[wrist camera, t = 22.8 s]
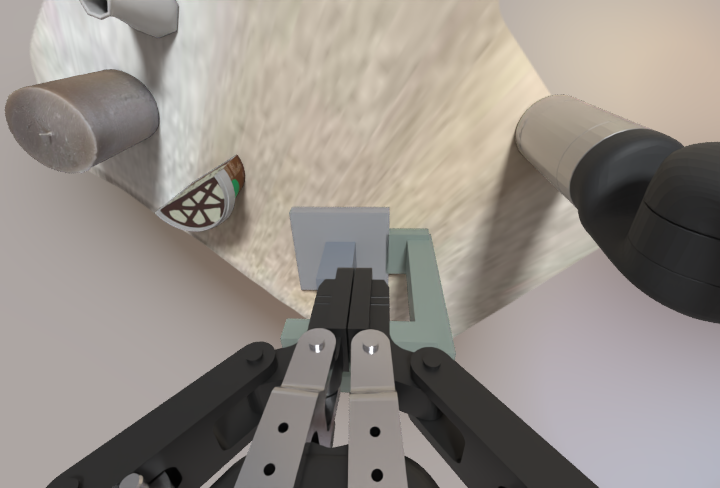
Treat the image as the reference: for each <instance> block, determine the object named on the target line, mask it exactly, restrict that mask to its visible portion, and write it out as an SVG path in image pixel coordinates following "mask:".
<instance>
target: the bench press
mask: <svg viewBox="0 0 720 488" xmlns="http://www.w3.org/2000/svg"><path fill="white" fill-rule="evenodd" d="M289 215H290V221H291V227H292V234H293V240H294V247H295V253H296V259H297V266H298V272H299V278H300V285H301V290H317V285H316V276H317V272H318V269H319V265H320V261H321V258H322V254H323V250H324V246H325V243H326V242H356V262H357V268H372V276H373V279H375V280H385V282H386V283H387V285H388V274H406V278H407V291H408V303H409V315H410V322H408V321H390V336H391V339H392V340H393V342H394V343H395V344H396V345H398V346H399V347H401V348H403V349H405V350H408V351H411V352H415V351H417V350H418V349H420V348H423V347H435V348H438V349H441V350H442V351H444V352H445V353H447V354H448V355H449V356H450V357H451V358H452V359H453V360H455V355H456V352H455V347H454V343H453V338H452V333H451V328H450V324H449V319H448V314H447V309H446V305H445V300H444V295H443V290H442V286H441V281H440V276H439V271H438V267H437V262H436V257H435V252H434V248H433V243H432V238H431V234H429V231H428V229H389V207H292V208H291V210H290V212H289ZM309 322H310V319H287V320H286V323H285V326H284V329H283V332H282V335H281V338H280V339H281V343H282V348H284V347H288V346H291V345H294V344H296V343H297V342H298V340H299V338H300V337H301V336H302V335H303V334H304V333H305V332H307V330H308V326H309ZM350 391H351V366H350V369H349V372H343V373H342V382H341V392H350Z"/></svg>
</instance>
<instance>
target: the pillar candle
mask: <svg viewBox="0 0 720 488" xmlns="http://www.w3.org/2000/svg"><path fill="white" fill-rule="evenodd" d="M5 116H6V120H7V123H8V126H9V129H10V131H11V133H12V134H13V136H14V138H15V139H16V141H17V142H18V143H19V145H20V146H21V147H22V148H23V149H24V150H25V151H26V152H27V153H28V154H29V155H30V156H31V157H33V158H34V159H36V160H37V161H38V162H40V163H42V164H43V165H45V166H47V167H49V168H51V169H54V170H57V171H60V172H65V173H83V172H85V171H88V170H89V169H90V168H91V167H93V166H95V165H97V164H99V163H101V162H103V161H105V160H107V159H109V158H110V157H112V156H114V155H116V154H118V153H120V152H122V151H124V150H126V149H128V148H130V147H132V146H133V145H135V144H137V143H139V142H141V141H143V140H145V139H147V138H149V137H150V136H151V135H152V134H153V133H154V132H155V131H156V129H157V128H158V123H159V120H158V119H159V118H158V117H159V116H158V109H157V105H156V102H155V100H154V98H153V96H152V94H151V93H150V91H149V90H148V89H147V88H146V86H145V85H144V84H143V83H142V82H140V81H139V80H138V79H136V78H135V77H133V76H131V75H129V74H128V73H125V72H123V71H118V70H113V69H110V70H103V71H98V72H93V73H88V74H84V75H78V76H73V77H69V78H65V79H60V80H55V81H50V82H46V83H41V84H37V85H33V86H28V87H24V88H21V89H18V90H16V91H14V92H13V93H12V94H11V95H9V97H8V99H7V103H6V106H5Z"/></svg>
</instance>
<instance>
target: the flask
mask: <svg viewBox="0 0 720 488" xmlns="http://www.w3.org/2000/svg"><path fill="white" fill-rule="evenodd" d="M79 1H80V2H81V4H82V6H83V7H84V9H85V11H86V12H87V14H88V15H90V16H93V17H96V18H98V19H101V20H102V19H105V18H107V17H109V16H113V17H116V18H118V19H120V20H121V21H123V22H125V23H126V24H128V25H129V26H131V27H132V28H134V29H136V30H138V31H141V32H143V33H146V34H149V35H151V36H154V37H156V38H160V37H162V36H165V35H167V34H170V33H172V32H175V31H177V18H178V4H177V1H176V0H79Z"/></svg>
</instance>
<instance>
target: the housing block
mask: <svg viewBox="0 0 720 488" xmlns="http://www.w3.org/2000/svg"><path fill="white" fill-rule="evenodd" d="M338 267H345V268H357V262H356V242H326V243H325V246H324V250H323V254H322V258H321V261H320V265H319V269H318V272H317V276H316V285H317V290H318V287H319V285H320V284H321V283H322V282H323V281H324V280H325V279H335V277H336V272H337V268H338Z"/></svg>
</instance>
